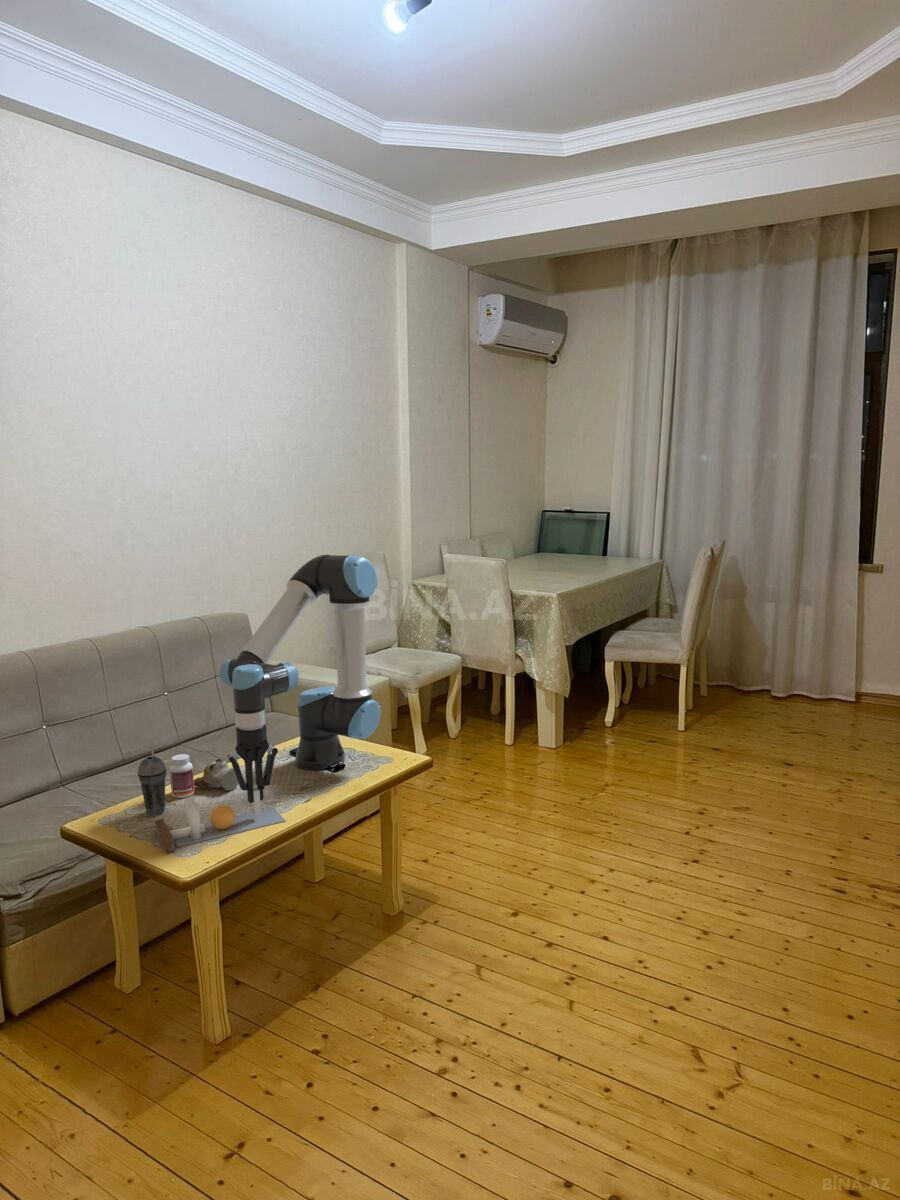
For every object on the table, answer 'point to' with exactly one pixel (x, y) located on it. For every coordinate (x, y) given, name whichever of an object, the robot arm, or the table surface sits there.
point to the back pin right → (188, 802)
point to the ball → (222, 817)
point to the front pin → (185, 832)
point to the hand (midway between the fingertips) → (256, 812)
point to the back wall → (164, 836)
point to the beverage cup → (153, 784)
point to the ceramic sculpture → (218, 776)
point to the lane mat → (236, 826)
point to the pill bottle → (181, 776)
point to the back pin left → (195, 821)
